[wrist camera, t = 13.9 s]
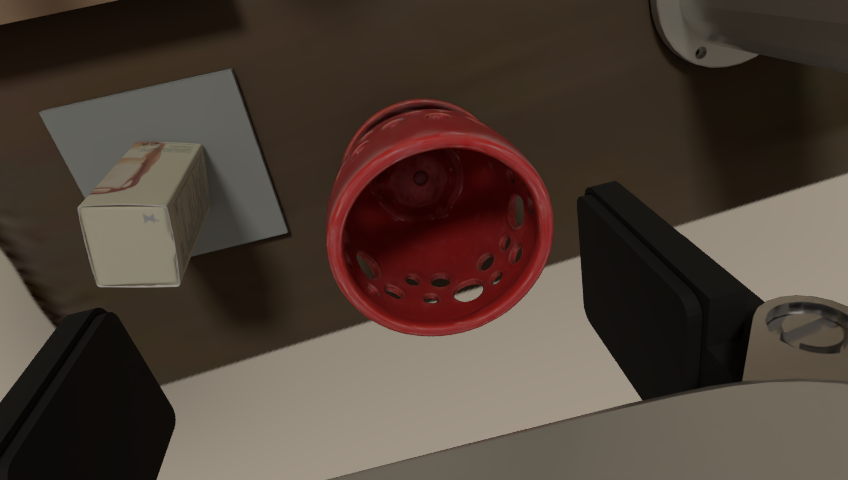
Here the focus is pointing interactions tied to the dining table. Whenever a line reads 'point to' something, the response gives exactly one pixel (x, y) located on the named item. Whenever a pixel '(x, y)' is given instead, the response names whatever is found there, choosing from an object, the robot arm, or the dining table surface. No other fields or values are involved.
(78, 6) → the pocket block
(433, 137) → the plant pot
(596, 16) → the dining table surface
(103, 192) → the skincare box
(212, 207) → the mat
